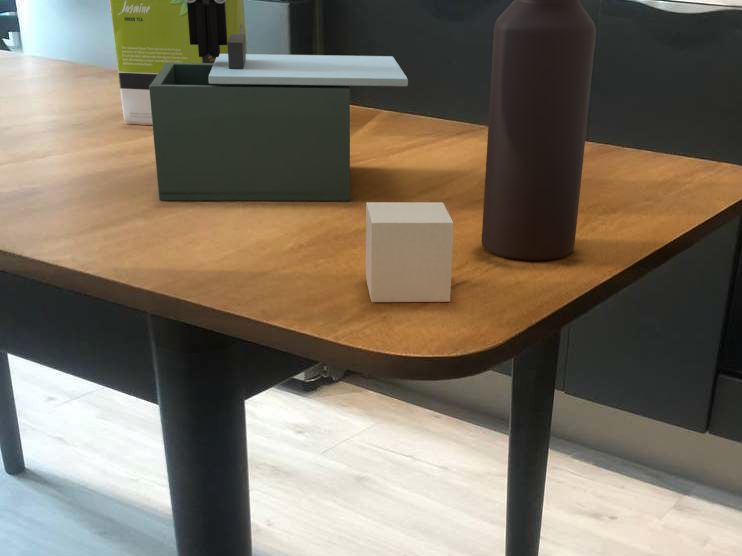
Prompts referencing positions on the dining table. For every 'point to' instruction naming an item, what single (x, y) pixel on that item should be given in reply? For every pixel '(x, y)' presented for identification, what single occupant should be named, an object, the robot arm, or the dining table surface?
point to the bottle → (537, 128)
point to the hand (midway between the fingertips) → (209, 54)
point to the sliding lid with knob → (303, 68)
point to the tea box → (157, 46)
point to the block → (408, 251)
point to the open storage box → (248, 139)
